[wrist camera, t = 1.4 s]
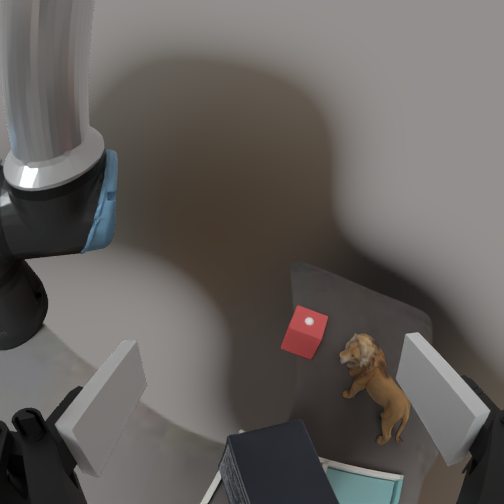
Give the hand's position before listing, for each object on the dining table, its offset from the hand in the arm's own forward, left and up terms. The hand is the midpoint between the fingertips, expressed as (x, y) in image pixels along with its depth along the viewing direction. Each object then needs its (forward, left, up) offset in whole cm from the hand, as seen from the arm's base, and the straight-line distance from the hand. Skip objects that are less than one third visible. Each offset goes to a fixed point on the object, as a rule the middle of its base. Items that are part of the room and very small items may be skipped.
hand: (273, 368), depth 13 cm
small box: (+5, -3, -20) cm, 21 cm away
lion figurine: (+12, +13, -21) cm, 28 cm away
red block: (+2, +20, -21) cm, 29 cm away
